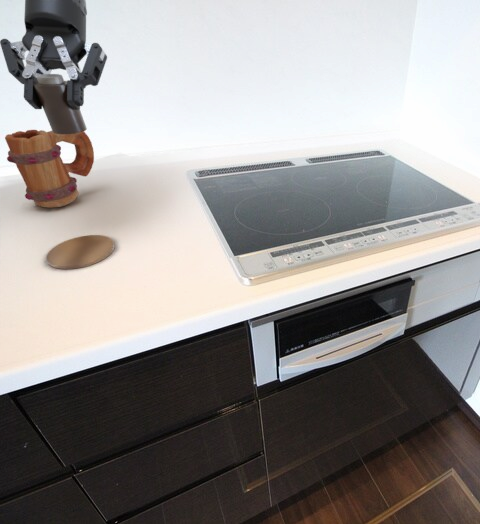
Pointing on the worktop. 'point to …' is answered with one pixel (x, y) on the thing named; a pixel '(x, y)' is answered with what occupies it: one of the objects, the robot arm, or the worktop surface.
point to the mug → (49, 164)
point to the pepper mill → (58, 105)
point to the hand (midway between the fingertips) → (54, 106)
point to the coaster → (80, 252)
